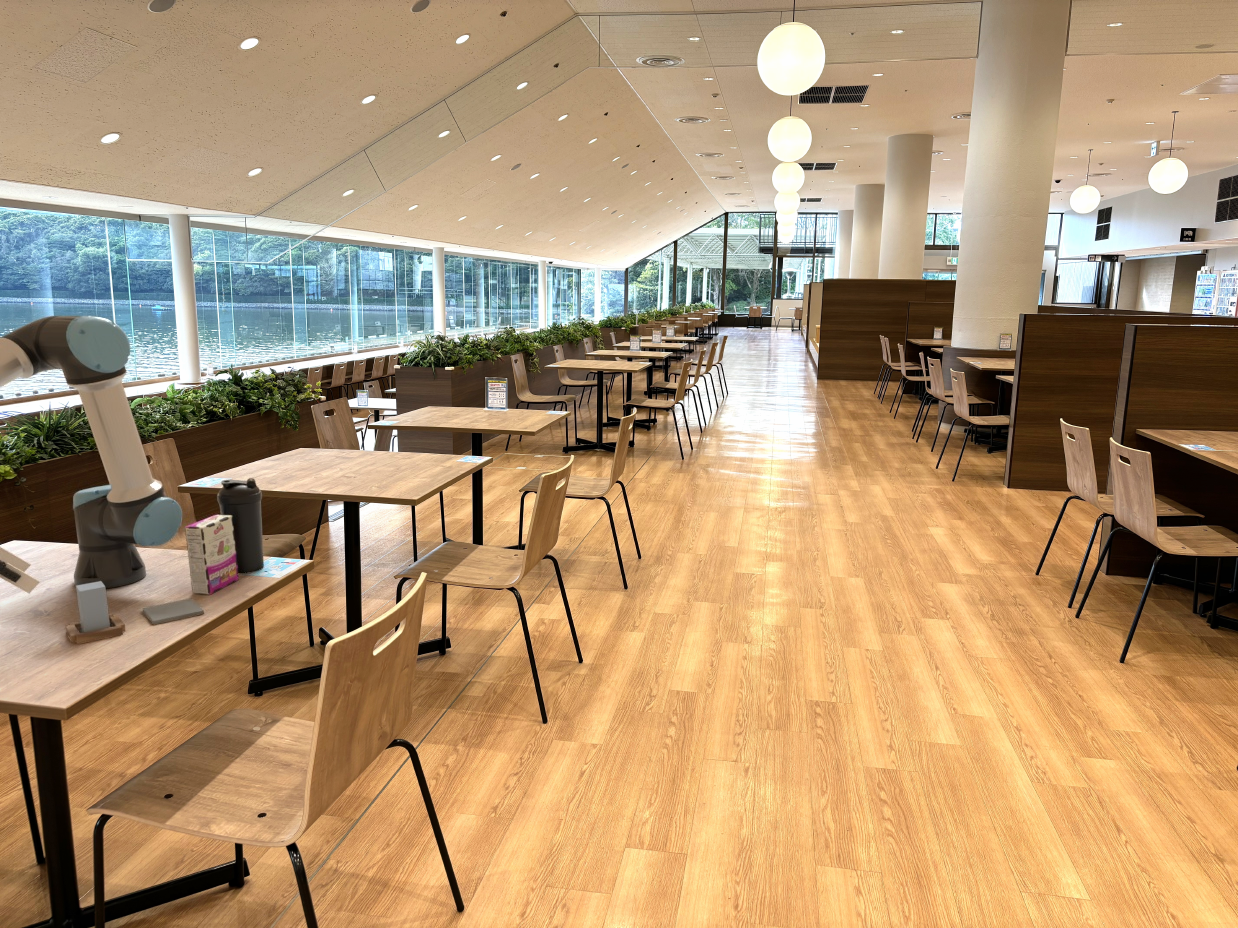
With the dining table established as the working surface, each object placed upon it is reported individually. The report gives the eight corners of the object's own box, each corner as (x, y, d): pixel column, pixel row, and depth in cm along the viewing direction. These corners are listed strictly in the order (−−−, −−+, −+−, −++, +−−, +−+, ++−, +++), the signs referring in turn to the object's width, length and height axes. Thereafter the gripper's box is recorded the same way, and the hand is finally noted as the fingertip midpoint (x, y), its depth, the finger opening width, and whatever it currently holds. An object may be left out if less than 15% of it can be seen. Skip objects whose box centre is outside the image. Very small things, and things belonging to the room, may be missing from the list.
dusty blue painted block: (81, 631, 178) (75, 585, 176) (106, 626, 180) (101, 581, 178) (85, 638, 174) (79, 591, 172) (110, 632, 177) (105, 586, 175)
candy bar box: (221, 578, 211) (215, 513, 208) (239, 580, 210) (233, 514, 207) (190, 594, 200) (183, 525, 197) (209, 595, 199) (202, 527, 196)
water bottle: (224, 565, 221) (216, 477, 217) (267, 560, 225) (260, 474, 221) (223, 576, 212) (215, 485, 208) (268, 571, 216) (260, 482, 212)
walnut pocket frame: (65, 630, 178) (64, 624, 178) (117, 620, 184) (116, 613, 184) (73, 645, 171) (72, 638, 170) (127, 633, 177) (126, 626, 176)
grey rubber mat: (142, 611, 189) (142, 608, 189) (191, 601, 195) (191, 597, 195) (153, 624, 181) (152, 621, 181) (204, 613, 188) (203, 610, 187)
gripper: (-98, 519, 164) (8, 578, 176) (-96, 548, 145) (23, 612, 158) (-67, 488, 166) (36, 548, 179) (-61, 512, 148) (53, 578, 160)
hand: (30, 578), depth 168 cm, fingers open, 13 cm apart
